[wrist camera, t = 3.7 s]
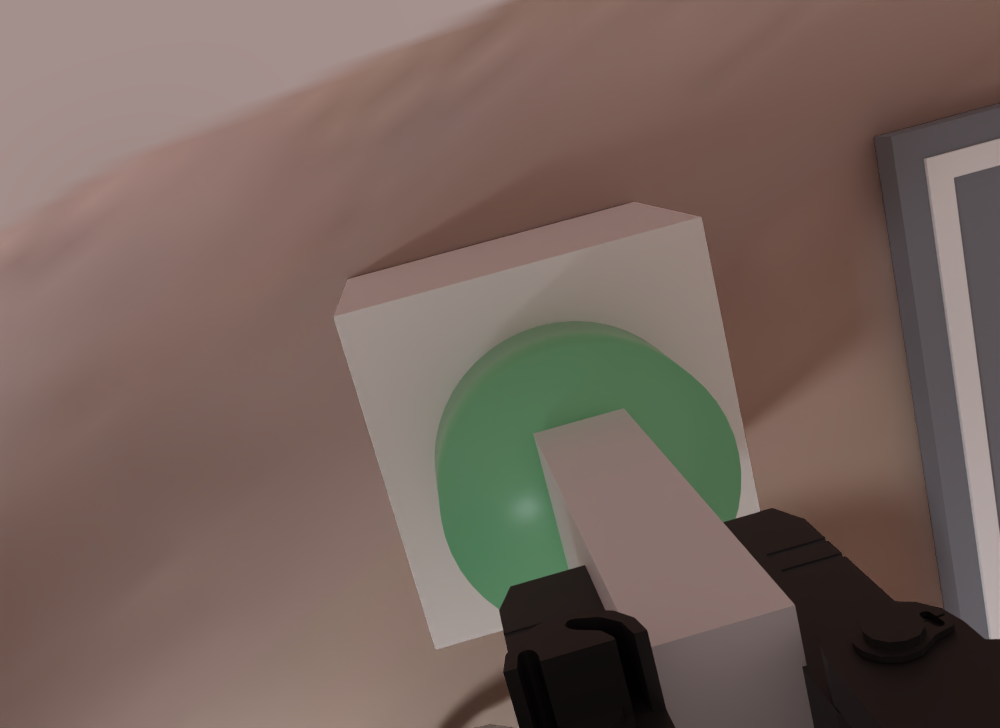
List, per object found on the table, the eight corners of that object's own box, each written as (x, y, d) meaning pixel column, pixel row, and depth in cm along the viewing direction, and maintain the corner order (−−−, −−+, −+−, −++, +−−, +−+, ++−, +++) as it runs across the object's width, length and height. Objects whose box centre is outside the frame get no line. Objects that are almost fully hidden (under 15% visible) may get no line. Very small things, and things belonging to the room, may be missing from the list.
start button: (474, 611, 18) (483, 668, 16) (401, 364, 16) (402, 392, 14) (725, 538, 18) (765, 586, 16) (673, 288, 17) (709, 307, 15)
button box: (427, 545, 23) (435, 650, 19) (347, 279, 22) (333, 317, 17) (692, 470, 24) (768, 553, 19) (634, 201, 22) (701, 217, 17)
